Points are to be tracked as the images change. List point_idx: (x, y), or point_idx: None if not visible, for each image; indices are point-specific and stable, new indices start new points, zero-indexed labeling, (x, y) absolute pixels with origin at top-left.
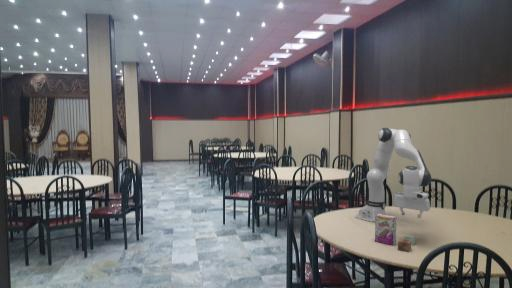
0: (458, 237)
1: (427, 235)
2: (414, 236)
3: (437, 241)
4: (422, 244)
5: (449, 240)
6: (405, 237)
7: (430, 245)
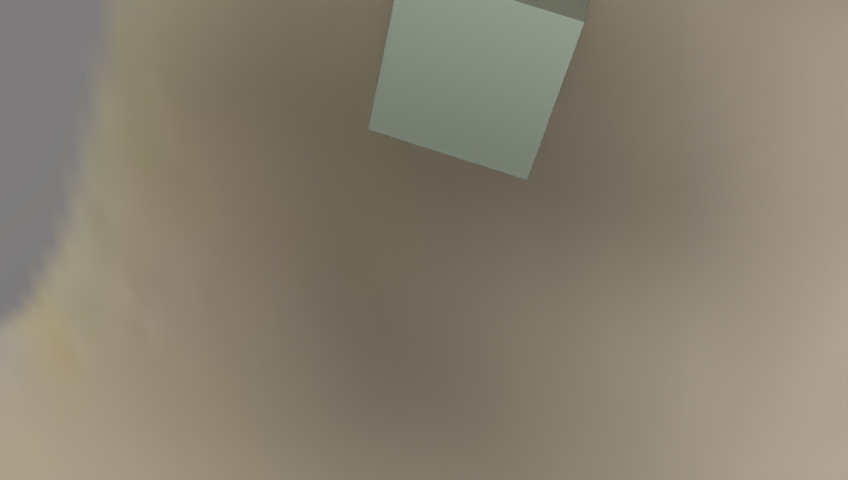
0: (29, 457)
1: (311, 447)
2: (375, 100)
3: (147, 269)
4: (282, 44)
5: (55, 347)
6: (561, 1)
7: (166, 48)
